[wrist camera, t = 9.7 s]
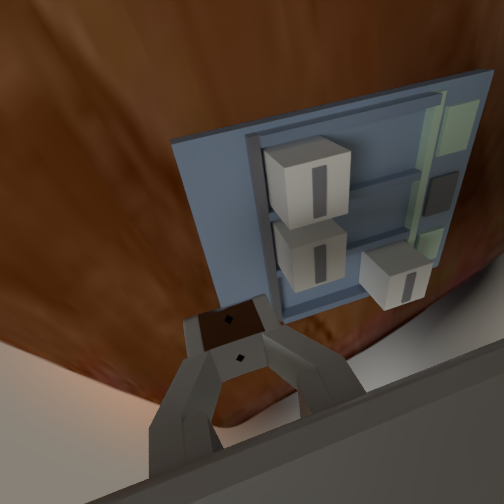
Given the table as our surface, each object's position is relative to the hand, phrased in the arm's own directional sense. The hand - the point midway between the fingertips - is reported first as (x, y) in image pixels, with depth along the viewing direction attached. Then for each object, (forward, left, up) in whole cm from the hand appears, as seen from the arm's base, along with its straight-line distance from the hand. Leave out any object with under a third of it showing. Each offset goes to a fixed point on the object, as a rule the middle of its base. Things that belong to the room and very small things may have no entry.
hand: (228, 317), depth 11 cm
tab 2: (+15, -11, -11) cm, 22 cm away
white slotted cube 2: (+7, -6, -11) cm, 15 cm away
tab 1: (+7, 0, -11) cm, 13 cm away
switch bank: (+11, -6, -13) cm, 18 cm away
